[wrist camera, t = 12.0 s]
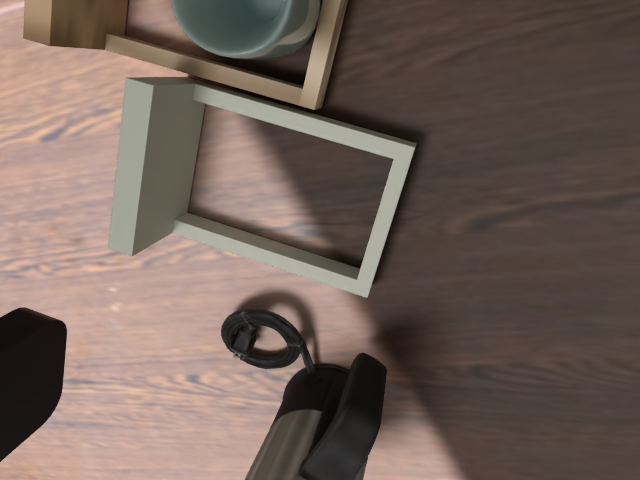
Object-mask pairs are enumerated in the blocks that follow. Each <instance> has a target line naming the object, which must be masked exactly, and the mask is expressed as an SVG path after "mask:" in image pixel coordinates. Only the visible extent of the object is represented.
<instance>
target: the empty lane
mask: <svg viewBox="0 0 640 480" xmlns="http://www.w3.org/2000/svg"><path fill="white" fill-rule="evenodd" d="M205 104H208V105H212V106H215V107H219V108H222V109H225V110H229V111H232V112H236V113H239V114H242V115H246V116H249V117H253V118H256V119H259V120H263V121H266V122H270V123H273V124H276V125H280V126H283V127H287V128H290V129H293V130H297V131H300V132H304V133H307V134H310V135H314V136H317V137H321V138H324V139H327V140H331V141H334V142H338V143H341V144H344V145H348V146H351V147H355V148H358V149H361V150H365V151H368V152H372V153H375V154H378V155H382V156H385V157H389V158H392V159H394V160H393V163H392V167H391V170H390V173H389V177H388V180H387V183H386V186H385V190H384V193H383V196H382V200H381V203H380V206H379V209H378V213H377V216H376V219H375V223H374V226H373V229H372V232H371V236H370V239H369V242H368V245H367V249H366V252H365V255H364V259H363V262H362V265H361V268H360V269H359V268H356V267H353V266H350V265H347V264H344V263H341V262H337V261H334V260H331V259H328V258H325V257H322V256H319V255H316V254H313V253H310V252H307V251H304V250H301V249H298V248H294V247H291V246H288V245H285V244H282V243H279V242H276V241H273V240H270V239H267V238H264V237H261V236H258V235H255V234H251V233H248V232H245V231H242V230H239V229H236V228H233V227H230V226H227V225H224V224H221V223H218V222H215V221H212V220H208V219H205V218H202V217H199V216H196V215H193V214H190V213H187V212H188V206H189V200H190V194H191V188H192V182H193V175H194V169H195V163H196V157H197V151H198V145H199V139H200V133H201V127H202V121H203V115H204V108H205ZM416 144H417V143H414V142H410V141H407V140H403V139H400V138H396V137H393V136H389V135H386V134H382V133H379V132H375V131H372V130H368V129H365V128H361V127H358V126H354V125H351V124H348V123H344V122H341V121H337V120H334V119H330V118H327V117H323V116H320V115H316V114H313V113H309V112H306V111H302V110H299V109H295V108H292V107H289V106H285V105H282V104H278V103H275V102H271V101H268V100H264V99H261V98H257V97H254V96H250V95H247V94H243V93H240V92H236V91H233V90H229V89H226V88H223V87H219V86H216V85H212V84H209V83H205V82H202V81H198V80H195V79H191V78H188V77H142V78H126V82H125V92H124V101H123V110H122V119H121V129H120V138H119V147H118V156H117V166H116V175H115V184H114V193H113V203H112V212H111V221H110V230H109V240H108V248H109V249H112V250H115V251H118V252H120V253H123V254H126V255H129V256H133V255H135V254H137V253H139V252H140V251H142V250H144V249H145V248H147V247H149V246H151V245H152V244H154V243H156V242H157V241H159V240H161V239H162V238H164V237H166V236H168V235H169V234H171V233H174V234H177V235H180V236H183V237H186V238H189V239H192V240H195V241H198V242H201V243H204V244H207V245H210V246H213V247H216V248H219V249H222V250H225V251H228V252H231V253H234V254H237V255H240V256H243V257H246V258H249V259H252V260H255V261H258V262H261V263H264V264H267V265H270V266H273V267H276V268H279V269H282V270H285V271H288V272H291V273H294V274H297V275H300V276H303V277H306V278H309V279H312V280H315V281H318V282H321V283H324V284H327V285H330V286H333V287H336V288H339V289H342V290H345V291H348V292H351V293H354V294H357V295H360V296H363V297H366V298H367V297H368V294H369V291H370V289H371V286H372V282H373V279H374V276H375V273H376V270H377V267H378V264H379V260H380V257H381V254H382V251H383V248H384V245H385V242H386V238H387V235H388V232H389V229H390V226H391V223H392V219H393V216H394V213H395V210H396V207H397V204H398V201H399V197H400V194H401V191H402V188H403V185H404V182H405V179H406V175H407V172H408V169H409V166H410V163H411V160H412V157H413V153H414V150H415V147H416Z"/></svg>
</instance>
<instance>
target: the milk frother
mask: <svg viewBox="0 0 640 480" xmlns="http://www.w3.org/2000/svg"><path fill="white" fill-rule="evenodd" d="M258 325H263V326H267V327H270V328H273V329H274V330H276V331H277V332H279V333H280V334H281V336H282V337H283V338H284V339H285V341H286V343H287V346H288V349H287V350H286V351H285V352H284V353H282V354H280V355H276V356H261V355H257V354H254V353H251V350H252V348H253V346H254V344H255V342H256V337H257V336H256V332H257V330H258ZM238 327H241V328H239V329H238V331H237V332H236V334H235V335H234V332H235V330H236V329H237V328H238ZM221 336H222V339H223V341H224V343H225V344H226V346H227V348H228V349H229V350H230V351H231V352H233V353H234V355H233V357H234V358H235V359H238V358H240V360H243V361H245V362H246V363H248V364H250V365H253V366H256V367H259V368H264V369H271V368H273V369H274V368H282V367H286V366H288V365H290V364H292V363H293V362H294V361H295V360H296V359H297V358H298V356H299V354H300V353H301V354H302V357H303V360H304V363H305V366H306V369H304V370H302V371H300V372H299V373H297V374H296V375H295V376H294V377H293V378H292V379H291V380H290V381H289V382H288V384H287V386H286V388H285V391H284V395H283V401H282V404H281V406H280V408H279V411H278V413H277V415H276V417H275V419H274V422H273V424H272V425H271V428H270V430H269V432H268V434H267V436H266V438H265V440H264V442H263V444H262V446H261V448H260V450H259V452H258V454H257V456H256V458H255V460H254V462H253V464H252V466H251V468H250V470H249V472H248V474H247V476H246V478H245V480H363V477H364V473H365V467H366V463H367V460H368V455H369V453H370V451H371V449H372V447H373V444H374V442H375V439H376V437H377V434H378V431H379V428H380V424H381V416H382V406H383V399H384V390H385V383H386V373H387V369H386V367H385V366H384V365H383V364H382V363H380V362H379V361H378V360H376V359H375V358H373V357H371V356H369V355H367V354H365V353H360V354H359V355H358V356H357V357H356V358H355V359H354V361H353V363H352V365H351V369H350V371H348V370H346V369H343V368H340V367H336V366H331V365H317V366H314V365H313V362H312V359H311V356H310V354H309V351H308V349H307V347H306V344H305V343H304V341H303V339H302V337H301V335H300V333H299V332H298V330H297V329H296V328H295V327H294V326H293V325H292V324H291V323H290V322H289V321H287V320H286V319H285V318H283V317H281V316H280V315H278V314H275V313H273V312H270V311H266V310H261V309H246V310H240V311H237V312H234V313H233V314H231V315H230V316H228V317H227V318H226V320H225V321H224V323H223V325H222V328H221Z"/></svg>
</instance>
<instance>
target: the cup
mask: <svg viewBox="0 0 640 480" xmlns="http://www.w3.org/2000/svg"><path fill="white" fill-rule="evenodd" d="M171 3H172V7H173V11H174V13H175V16H176V18H177V21H178V23H179V25H180V26H181V28H182V29H183V31H184V32H185V34H186V35H187V36H188V37H189V38H190V39H191V40H192V41H193V42H194V43H195V44H197V45H198V46H200V47H202V48H203V49H205V50H206V51H209V52H211V53H214V54H217V55H219V56H224V57H230V58H236V59H250V60H259V59H274V58H279V57H283V56H286V55H289V54H291V53H293V52H295V51H297V50H298V49H300V48H301V47H302V46H304V45H305V44H306V43H307V41H308V40H309V39H310V38H311V36H312V35H313V33H314V31H315V29H316V26H317V23H318V20H319V16H320V9H321V0H171Z"/></svg>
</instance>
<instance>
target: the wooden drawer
mask: <svg viewBox="0 0 640 480" xmlns="http://www.w3.org/2000/svg"><path fill="white" fill-rule="evenodd" d="M347 3H348V0H323V3H322V7H321V12H320V16H319V20H318V25H317V29H316V34H315V38H314V42H313V47H312V51H311V55H310V60H309V64H308V69H307V73H306V77H305V82H304V86H302V85H298V84H295V83H291V82H287V81H284V80H280V79H277V78H273V77H270V76H266V75H263V74H259V73H255V72H252V71H248V70H245V69H241V68H238V67H234V66H231V65H227V64H223V63H220V62H216V61H213V60H209V59H206V58H202V57H199V56H195V55H191V54H188V53H184V52H181V51H177V50H174V49H170V48H167V47H163V46H159V45H156V44H152V43H149V42H145V41H142V40H138V39H135V38H131V37H127V36H124V34H125V25H126V15H127V6H128V0H25V8H24V34H23V38H24V39H28V40H31V41H35V42H38V43H41V44H45V45H48V46H59V47H73V48H87V49H102V50H108V51H111V52H114V53H118V54H121V55H125V56H128V57H132V58H135V59H139V60H142V61H146V62H149V63H153V64H156V65H160V66H163V67H167V68H170V69H174V70H177V71H181V72H184V73H188V74H191V75H195V76H198V77H202V78H205V79H209V80H212V81H216V82H219V83H223V84H226V85H229V86H233V87H236V88H240V89H243V90H247V91H250V92H254V93H257V94H261V95H264V96H268V97H271V98H275V99H278V100H282V101H285V102H289V103H292V104H296V105H299V106H303V107H306V108H310V109H313V110H316V109H319V108H322V105H323V101H324V97H325V93H326V89H327V85H328V80H329V76H330V72H331V68H332V64H333V60H334V56H335V52H336V48H337V44H338V40H339V35H340V31H341V27H342V23H343V19H344V15H345V11H346V7H347Z"/></svg>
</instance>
